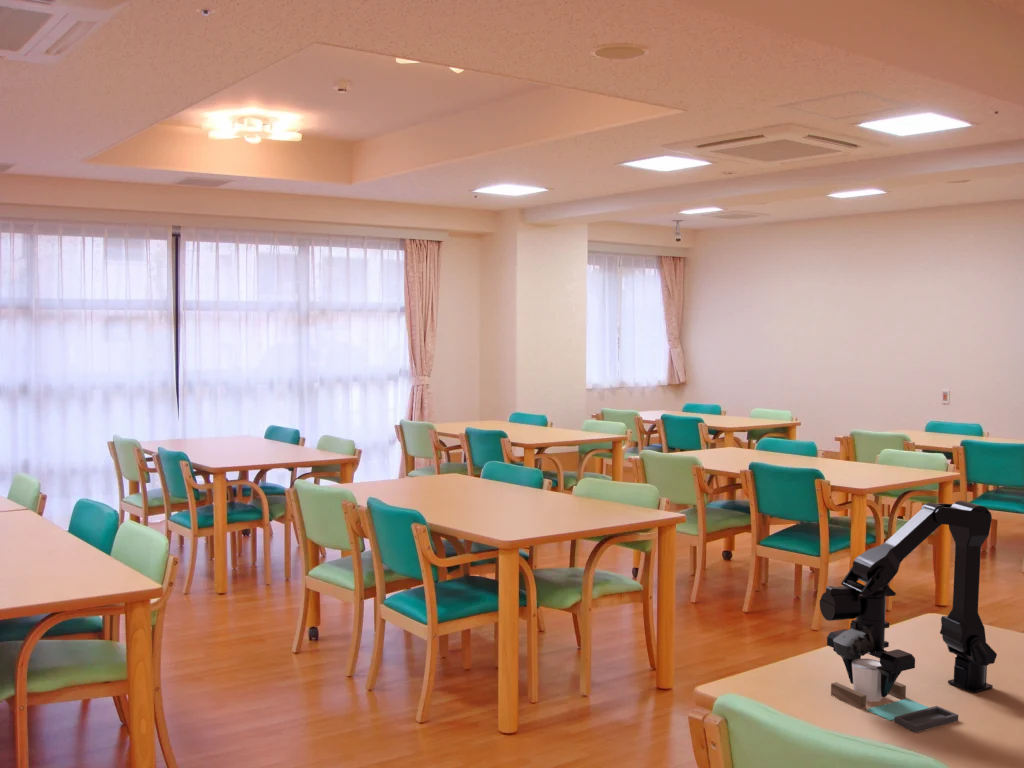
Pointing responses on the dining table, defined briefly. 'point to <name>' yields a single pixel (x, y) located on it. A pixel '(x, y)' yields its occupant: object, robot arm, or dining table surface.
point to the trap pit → (926, 719)
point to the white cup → (867, 678)
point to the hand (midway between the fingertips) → (868, 690)
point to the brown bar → (859, 698)
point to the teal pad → (896, 709)
